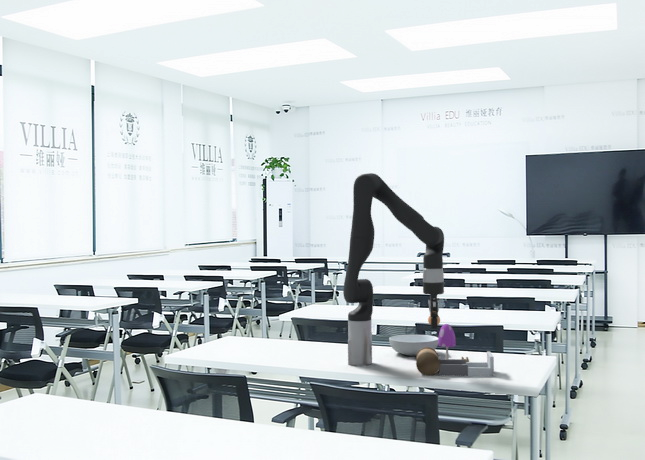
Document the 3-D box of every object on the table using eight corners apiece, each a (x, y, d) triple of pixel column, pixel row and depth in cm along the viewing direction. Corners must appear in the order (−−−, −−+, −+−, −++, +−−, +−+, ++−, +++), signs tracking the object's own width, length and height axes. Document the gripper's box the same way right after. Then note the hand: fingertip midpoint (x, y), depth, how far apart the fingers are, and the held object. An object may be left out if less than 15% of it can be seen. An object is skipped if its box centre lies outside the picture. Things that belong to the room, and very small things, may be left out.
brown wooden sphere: (440, 375, 228) (439, 352, 228) (416, 375, 229) (415, 352, 229) (438, 369, 238) (438, 347, 238) (416, 369, 239) (415, 347, 239)
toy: (455, 363, 248) (455, 325, 248) (438, 363, 249) (437, 325, 249) (455, 360, 255) (455, 322, 255) (438, 360, 256) (438, 322, 256)
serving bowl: (446, 352, 273) (446, 336, 273) (427, 360, 255) (426, 343, 255) (402, 348, 284) (402, 332, 284) (380, 356, 266) (380, 339, 266)
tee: (461, 369, 238) (461, 358, 238) (460, 367, 241) (460, 356, 241) (469, 369, 237) (469, 358, 238) (468, 367, 240) (468, 356, 240)
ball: (440, 326, 231) (440, 314, 231) (428, 326, 232) (428, 314, 232) (440, 325, 235) (439, 313, 235) (427, 325, 236) (427, 313, 236)
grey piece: (439, 375, 228) (439, 356, 228) (438, 369, 238) (438, 351, 238) (493, 376, 226) (493, 356, 226) (490, 370, 235) (490, 351, 235)
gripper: (444, 282, 226) (445, 330, 226) (442, 279, 240) (443, 324, 240) (423, 282, 227) (424, 330, 227) (422, 279, 241) (423, 324, 241)
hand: (434, 327), depth 234 cm, fingers closed on ball, 4 cm apart
